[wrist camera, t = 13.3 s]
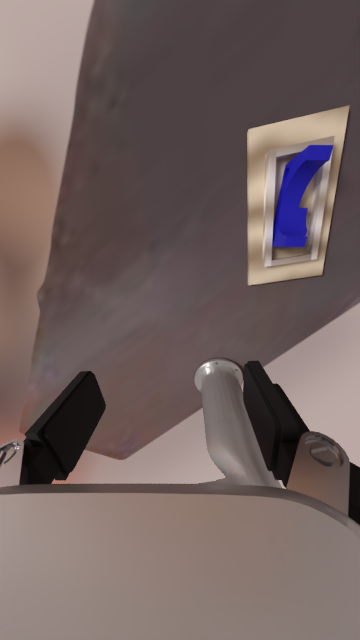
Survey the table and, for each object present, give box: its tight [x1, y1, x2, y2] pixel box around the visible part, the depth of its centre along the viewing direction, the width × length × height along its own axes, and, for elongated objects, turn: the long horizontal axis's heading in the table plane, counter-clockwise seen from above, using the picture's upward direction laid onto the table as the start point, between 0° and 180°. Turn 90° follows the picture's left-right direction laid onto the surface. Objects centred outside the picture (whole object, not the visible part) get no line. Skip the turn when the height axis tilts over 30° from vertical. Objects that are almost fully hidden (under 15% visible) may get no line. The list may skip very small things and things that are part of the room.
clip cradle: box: [247, 105, 350, 285], centre depth 29 cm, size 24×14×2 cm, turn 9°
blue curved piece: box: [272, 145, 334, 247], centre depth 27 cm, size 12×4×6 cm, turn 179°
